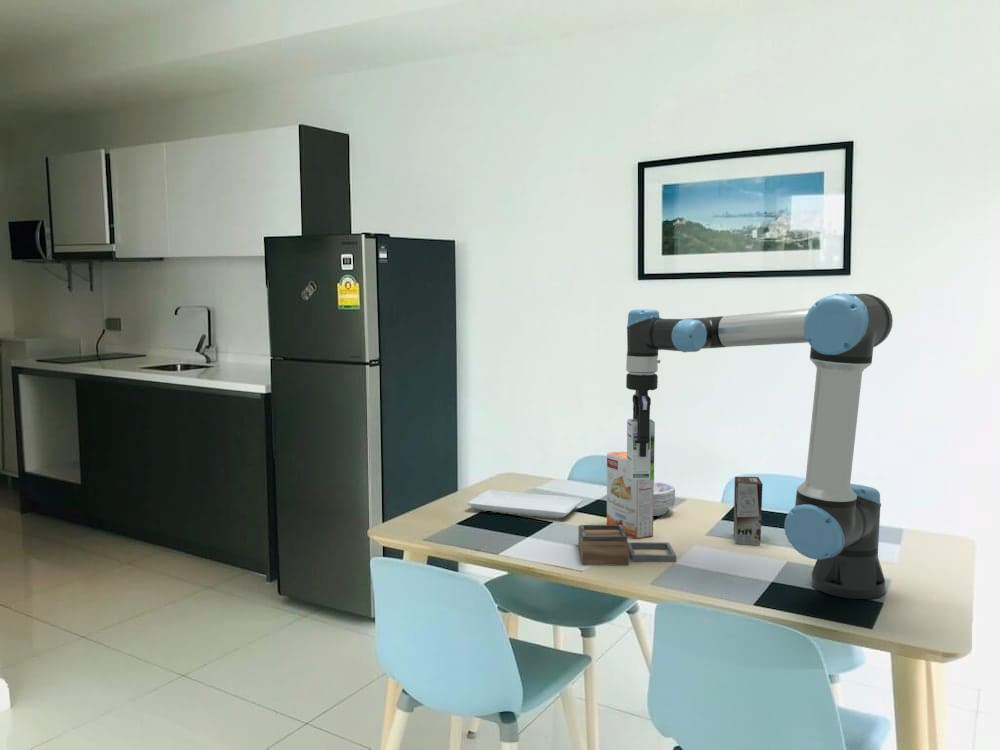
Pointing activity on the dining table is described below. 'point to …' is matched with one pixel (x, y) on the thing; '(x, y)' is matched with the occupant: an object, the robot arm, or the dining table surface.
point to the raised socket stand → (603, 544)
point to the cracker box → (628, 498)
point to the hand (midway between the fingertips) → (640, 466)
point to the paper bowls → (662, 498)
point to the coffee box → (747, 510)
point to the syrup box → (631, 452)
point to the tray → (525, 503)
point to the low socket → (651, 558)
